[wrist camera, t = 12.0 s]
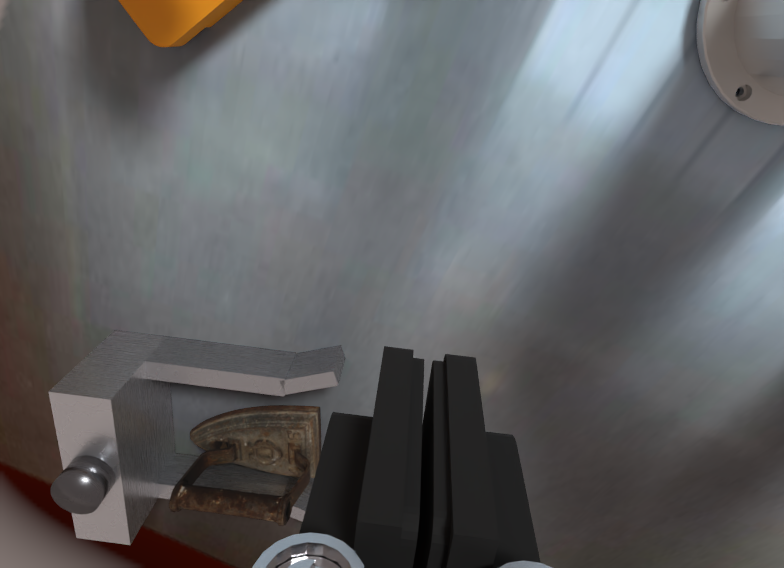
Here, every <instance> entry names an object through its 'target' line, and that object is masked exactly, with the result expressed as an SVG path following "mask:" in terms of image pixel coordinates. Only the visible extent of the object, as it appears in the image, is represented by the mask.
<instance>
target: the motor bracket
mask: <svg viewBox="0 0 784 568" xmlns="http://www.w3.org/2000/svg"><path fill="white" fill-rule="evenodd" d="M344 362H345V356H344V353H343V350H342V347H341V345H340V346H335V347H330V348H324V349H319V350H313V351H308V352H303V353H297V354H296V353H294V352H286V351H278V350H270V349H262V348H254V347H246V346H238V345H230V344H222V343H214V342H206V341H198V340H190V339H182V338H174V337H166V336H158V335H150V334H143V333H135V332H127V331H119V330H114V331H113V332H112V333H111V334H110V335H109V336H108V337H107V338H106V339H105V340H104V341H103V342H101V343H100V344H99V345H98V346H97V347H96V348H95V349H94V350H93V351H92V352H91V353H90V354H89V355H88V356H86V357H85V358H84V359H83V360H82V361H81V362H80V363H79V364H78V365H77V366H76V367H75V368H74V369H73V370H71V371H70V372H69V373H68V374H67V375H66V376H65V377H64V378H63V379H62V380H61V381H60V382H59V383H58V384H56V385H55V386H54V387H53V388H52V389H51V390H50V391H49V396H50V402H51V407H52V412H53V417H54V423H55V428H56V433H57V438H58V444H59V449H60V454H61V459H62V464H63V470H64V471H63V472H62V473H61V474H60V475H59V477H58V478H57V479H56V480H55V481H54V482H53V484H52V486H51V495H52V497H53V499H54V501H55V502H56V503H57V504H58V505H59V506H60V507H62V508H63V509H65V510H67V511H69V512H71V513H72V517H73V522H74V527H75V532H76V537H77V538H82V539H89V540H97V541H105V542H113V543H119V544H127V545H131V543H132V541H133V540H134V538H135V536H136V534H137V533H138V531H139V529H140V528H141V526H142V524H143V523H144V521H145V519H146V518H147V516H148V514H149V513H150V511H151V509H152V508H153V506H154V504H155V502H156V501H157V499H158V498H164V499H170V497H171V493H172V491H173V489H174V487H175V485H176V484H177V483H178V482H179V480H180V479H181V478H182V476H183V475H184V474H185V473H186V472H187V470H188V469H189V468H190V467H191V466H192V464H193V463H194V462H195V461H196V459H197V458H198V457H199V456H193V455H185V454H178V453H176V452H175V439H174V427H173V414H172V401H171V389H170V382H174V383H182V384H190V385H198V386H206V387H214V388H221V389H229V390H237V391H245V392H253V393H261V394H268V395H276V396H285V395H287V394H292V393H298V392H304V391H310V390H315V389H321V388H327V387H333V386H338V384H339V381H340V377H341V373H342V370H343V366H344ZM299 478H300V477H293V476H286V475H280V474H274V473H270V472H265V471H261V470H257V469H253V468H249V467H245V466H242V465H239V464H235V463H233V462H232V463H226V464H217V465H212V466H209V467H208V468H206V469H205V470H204V471H203V473H202V474H201V475H200V476H199V477H198V479H197V480H196V481H195V482H194V483H193V485H197V486H203V487H211V488H218V489H226V490H234V491H243V492H250V493H258V494H267V495H277V496H283V495H285V494H288V493H289V492H290V491H291V489H292V488H293V487H294V485H295V484H296V482H297V481H298V480H299ZM313 481H314V479H313V478H310V481H309V483H308V485H307V487H306V488H305V490H304V491H303V493H302V494H301V495H300V497H299V498H298V500H297V501H296V503H295V504H294V506H293V507H292V512H291V515H290V517H292V518H294V519H297V520H299V521H302V522H303V518H304V515H305V511H306V507H307V504H308V500H309V496H310V492H311V489H312V485H313Z"/></svg>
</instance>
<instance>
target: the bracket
mask: <svg viewBox="0 0 784 568" xmlns="http://www.w3.org/2000/svg"><path fill="white" fill-rule="evenodd" d="M118 1H119V2H120V3H121V5H122V6H123V7H124V8H125V10H126V11H127V12H128V14H129V15H130V16H131V18H132V19H133V20H134V22H135V23H136V24H137V26H138V27H139V28H140V30H141V31H142V32H143V34H144V35H145V36H146V38H147V39H148V40H149V41H150V42H151V43H153V44H154V45H156V46H159V47H177V46H183V45H185V44H186V43H187V42H188V41H190V40H191V39H192V38H193V37H194V36H196V35H197V34H198V33H199V32H200V31H202V30H203V29H204V28H205V27H211V26H213V25H214V24H215V23H216V22H218V21H219V20H220V19H221V18H222V17H224V16H225V15H226V14H227V13H228V12H230V11H231V10H232V9H233V8H234V7H236V6H237V5H238V4H239V3H240V2H242V1H243V0H118Z"/></svg>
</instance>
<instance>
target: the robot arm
mask: <svg viewBox="0 0 784 568" xmlns="http://www.w3.org/2000/svg"><path fill="white" fill-rule="evenodd" d="M697 49H698V54H699V58H700V63H701V67H702V69H703V71H704V74H705V76H706V78H707V80H708V82H709V84H710V86H711V87H712V88H713V90H714V91H715V92H716V94H717V95H718V96H719V97H720V99H721V100H722V101H724V102H725V103H726V104H727V105H729V106H730V107H731V108H732V109H734V110H735V111H736V112H738V113H740V114H742V115H745V116H747V117H749V118H751V119H753V120H757V121H761V122H764V123H768V124H772V125H780V126H784V0H700V5H699V11H698V17H697ZM738 88H740V92H739V94H738V95H736V91H737V89H738ZM423 383H424V359H418V358H413V350H410V349H402V348H394V347H386V346H384V351H383V358H382V364H381V370H380V377H379V383H378V390H377V396H376V402H375V409H374V415H373V417H367V416H359V415H352V414H344V413H336V412H333V413H332V415H331V418H330V421H329V425H328V429H327V433H326V436H325V440H324V444H323V448H322V451H321V455H320V459H319V462H318V466H317V470H316V474H315V477H314V481H313V485H312V489H311V492H310V496H309V500H308V504H307V507H306V511H305V515H304V518H303V522H302V526H301V530H300V533H299V534H295V535H292V536H289V537H287V538H284V539H282V540H279V541H277V542H276V543H275V544H273V545H272V546H271V547H269V548H268V549H267V550H265V551H264V552H263V553H262V555H261V556H260V557H259V559H258V560H257V562H256V563H255V564H254V566H253V567H252V568H552V567H550V566H547V565H545V564H542V563H540V558H539V553H538V548H537V543H536V538H535V533H534V528H533V523H532V518H531V513H530V509H529V504H528V499H527V494H526V489H525V484H524V479H523V474H522V469H521V464H520V459H519V454H518V449H517V444H516V441H515V438H514V437H513V435H508V434H500V433H492V432H485V425H484V417H483V410H482V402H481V394H480V387H479V379H478V371H477V363H476V358H473V357H466V356H458V355H450V354H445V357H444V361H443V362H442V361H434V360H433V363H432V368H431V374H430V381H429V387H428V393H427V400H426V406H425V412H424V419H423V425H422V417H423Z"/></svg>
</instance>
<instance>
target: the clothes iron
mask: <svg viewBox="0 0 784 568" xmlns="http://www.w3.org/2000/svg"><path fill="white" fill-rule="evenodd" d="M190 436H191V437H190V439H191V440H192V441H193V442H194V443H195V444H196V445H197V446H198V447H200V448H202V449H204V450H206V452H204V453H203V454H201V455H200V456H199V457H198V458H197V459H196V461H195V462H194V463H193V464H192V466H191V467H190V468H189V469H188V470H187V472H186V473H185V474H184V475H183V476H182V478H181V479H180V480H179V482H178V483H177V484H176V485H175V487H174V489H173V491H172V493H171V497H170V503H169V508H170V510H171V511H172V512H176V511H180V510H182V509H188V510H196V511H204V512H212V513H218V514H226V515H233V516H241V517H248V518H254V519H261V520H267V521H273V522H277V523H278V525H279V526H284V525H286V524H287V522H288V520H289V518H290V515H291V512H292V507H293V506H294V504H295V503H296V501H297V500H298V498H299V497H300V495H301V494H302V493H303V491H304V490H305V488H306V487H307V485H308V483H309V481H310V478H314V477H315V474H316V470H317V466H318V462H319V459H320V455H321V419H320V407H314V406H286V405H279V406H259V407H251V408H244V409H239V410H234V411H230V412H226V413H223V414H220V415H217V416H214V417H212V418H210V419H207V420H205V421H203V422H202V423H200V424H199V425H197V426H196V427H195V428H193V429H192V430H191V432H190ZM232 462H233V463H235V464H239V465H242V466H245V467H249V468H253V469H257V470H261V471H265V472H270V473H274V474H280V475H286V476H293V477H300V478H299V480H298V481H297V482H296V484H295V485H294V487H293V488H292V489H291V491H290V492H289V493H288V494H285V495H283V496H277V495H267V494H258V493H250V492H243V491H234V490H226V489H218V488H211V487H203V486H197V485H193V483H194V482H195V481H196V480H197V479H198V477H199V476H200V475H201V474H202V473H203V471H204V470H205V469H206V468H208V467H209V466H212V465H217V464H226V463H232Z"/></svg>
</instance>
